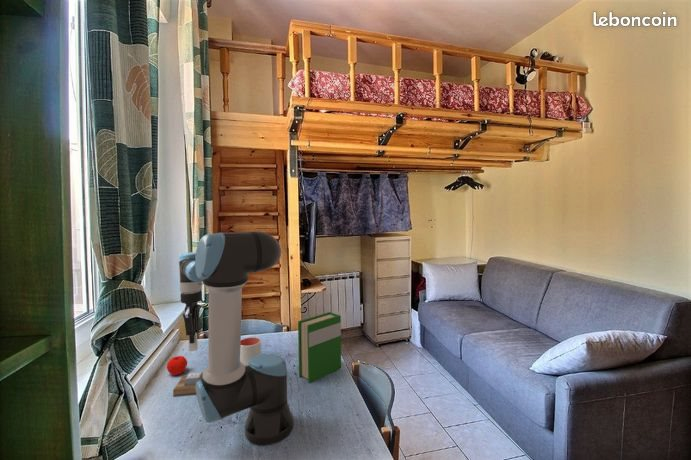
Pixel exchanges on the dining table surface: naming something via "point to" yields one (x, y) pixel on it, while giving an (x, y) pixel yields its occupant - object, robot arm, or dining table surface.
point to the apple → (177, 365)
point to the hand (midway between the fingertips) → (193, 349)
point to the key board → (184, 388)
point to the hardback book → (319, 346)
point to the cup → (249, 349)
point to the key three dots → (193, 378)
